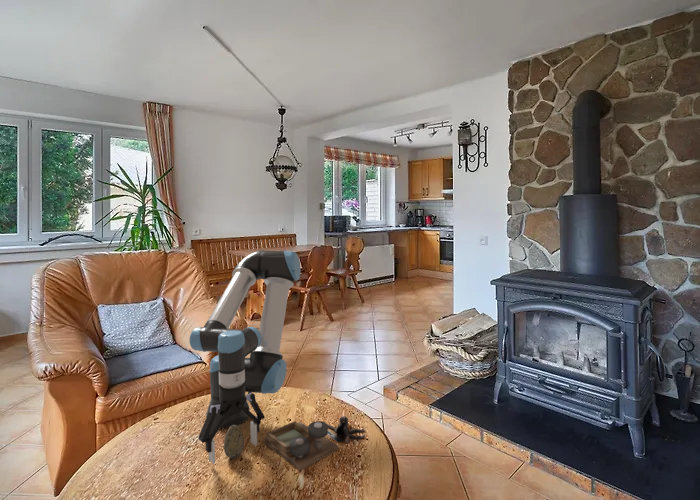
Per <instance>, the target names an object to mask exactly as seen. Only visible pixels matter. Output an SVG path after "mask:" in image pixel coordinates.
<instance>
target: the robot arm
mask: <svg viewBox="0 0 700 500" xmlns="http://www.w3.org/2000/svg"><path fill="white" fill-rule="evenodd" d="M301 272H302V271H301V262H300V257H299V256H298V254H297V253H296V251H293V250H261V249H260V250H257V251H253V252H251V253H250V254H248V255H246V256H245V257H243V258H242V259H241V260H240V261H239V262H238V263H237V265H236V266H235V267H234V269H233V270H232V272H231V276H232V278H231V279H230V281H229V283H228V284H227V286H226V288H225V290H224V291H223V293H222V295H221V296H220V298H219V300H218V302H217V303H216V304H215V307H214V308H213V311H212V312H211V314H210V316H209V317H208V318H207V321H206V322H205V324H204V325H203V327H202V326H199V327H195V328H194V329H192V331H191V333H190V335H189V346H190V347H191V349H192V350H194V351H198V352H203V353H205V352H211V353H217V355H215V356H214V357H213V358H211V360H210V362H209V380H210V382H209V383H210V385H209V386H210V401H209V404H208V407H207V411H206V414H205V416H206V418H205V420H204V422H203V425H202V428H201V430H200V432H199V435H198V440H199V441H200V442H202V443H205V444H204V445H205V451H206V452H207V453H208V461H210V462H211V464H213V465H214V464H215V463H216V441H215V440H214V438H215V437H216V435H217V433H218V432H219V430H220V428H228V427H229V428H230V426H232V425H236V426H238V425H240V424H242V423H243V422H245V421H246V420H247V419H248V418H249V419H251V420H252V421H250V422H249V423H250V424H249V426H250V430H249V431H250V443H251V444H252V445H254V446H257V445H258V433H259V432H260V425H261V423H262V421H261V420H265V415H264V413H263V411H262V409H261V407H260V406H259V404H258V402H257V399H256V394H264V395H266V394H271V395H272V394H276V393H278V392H279V391H280V390H281V388H282V387H283V385H284V382H285V379H286V375H287V371H288V370H287V362H286V360H285V359H284V358H283V357H284V355H283V354H282V352H281V343H282V337H283V330H284V329H283V328H284V323H285V317H286V310H287V306H288V305H287V304H288V299H289V298H288V297H289V291H290V289H291V288H293V287H294V284H295V281H296V282H297V281H298V280H300V277H301V274H302V273H301ZM258 280H263V283H264V284H265V286H266V290H265V295H264V300H263V306H262V312H261V318H260V323H259V328H257V327H255V326H249V327H244V328H243V329H236V328H235V329H233V328H230V327H231V324H232V323H233V320H234V319H235V317H236V315H237V313H238V311H239V309H240V307H241V305H242V303H243V302H244V301H245V298H246V295H247V293H248V292H249V290H250V289H251V287H252V286H254V285H255V284H256V282H257V281H258ZM248 355H249V357H248ZM246 393H247V394H246ZM254 393H256V394H254ZM248 402H249V403H248ZM249 404H250V405H251V407H252V409H253V411H254V413H255V414H256V415H254V414H253V413H252V412H251V411H250V408H251V407H250V405H249Z"/></svg>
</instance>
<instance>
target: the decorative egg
mask: <svg viewBox="0 0 700 500" xmlns="http://www.w3.org/2000/svg"><path fill="white" fill-rule="evenodd" d="M244 448H245V439H244V435H243V433H242V430H241V429H240V427H239V426H238V425H232V426H230V427H229V428H228V430H226V432H225V435H224V439H223V451H224V454H225V455H226V457H227V458H229V459H234V460H235V459H237V458H239V457H240V456H241V455H242V453H243V452H244Z"/></svg>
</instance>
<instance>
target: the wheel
mask: <svg viewBox="0 0 700 500" xmlns="http://www.w3.org/2000/svg"><path fill="white" fill-rule="evenodd" d="M327 424H328V423H326V422H325V421H321V420H320V421H319V420H317V421H312V422H311V423H309V424H308V425H307V426H308V434H309V436H310V437H312V438H323V437H325V438H326V437H327V436H328V435H327V434H328V431H329V428H328V425H329V424H328V425H327Z"/></svg>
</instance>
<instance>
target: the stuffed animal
mask: <svg viewBox="0 0 700 500" xmlns="http://www.w3.org/2000/svg"><path fill="white" fill-rule="evenodd" d="M326 424H327V425H328V434H327V435H326V436H327V437H329V438H330V439H332V440H333V441H335V442H336V443H342V442H343V443H345V444H350V442H351V440H363V439H364V438H365V437H366V434H361V435H357V433H362V432H364V431H365V428H364V427H362V428H360V429H359V428H352V429H350V430H349V427H348V426H349V418H348V417H347V416H345V415H342V416H341V417H340V418H339V423H338V424H337V427H334V426H332V425H331V424H328V423H326ZM330 430H332V431H333V432H332V431H330ZM355 434H356V435H355ZM343 437H344V438H343Z"/></svg>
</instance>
